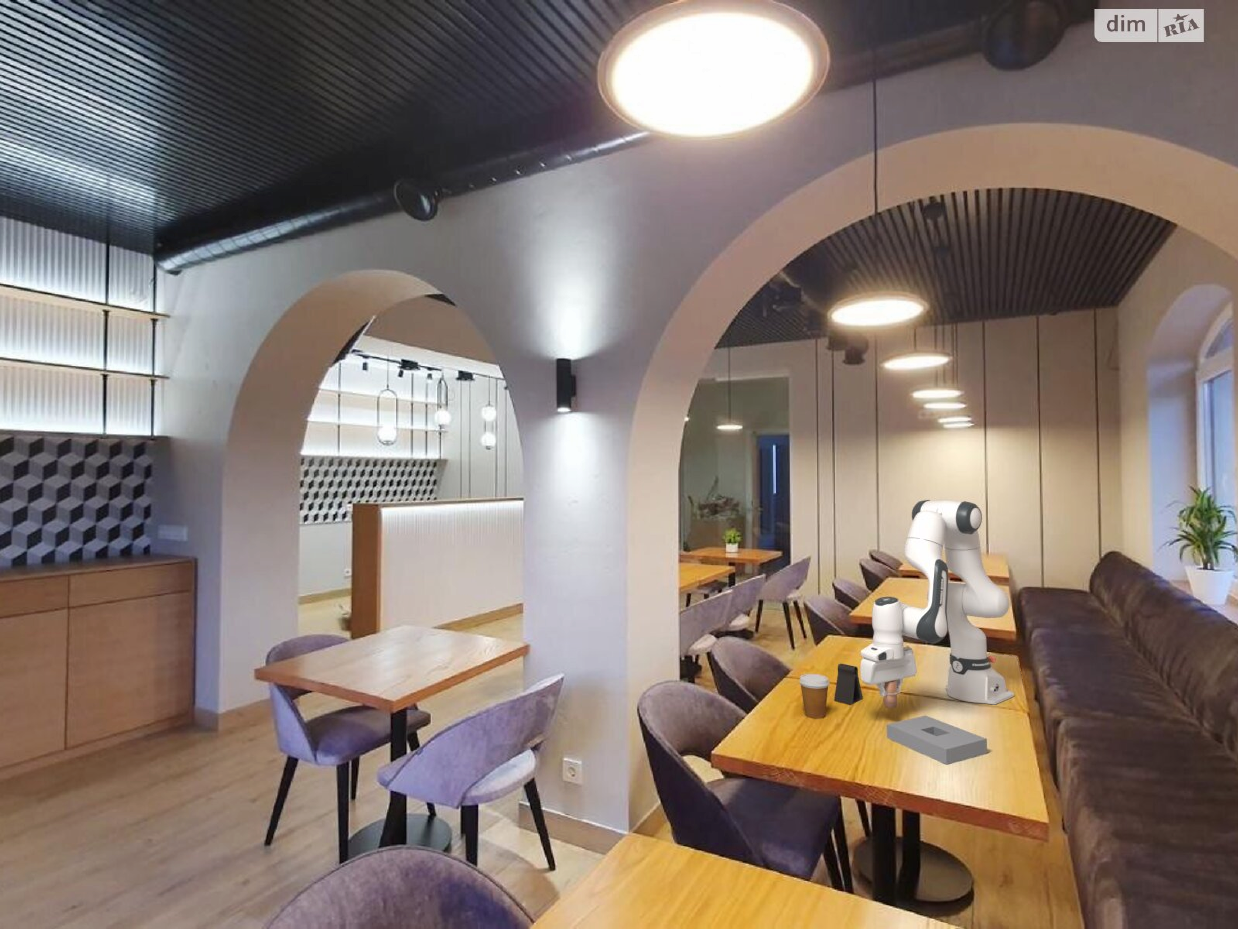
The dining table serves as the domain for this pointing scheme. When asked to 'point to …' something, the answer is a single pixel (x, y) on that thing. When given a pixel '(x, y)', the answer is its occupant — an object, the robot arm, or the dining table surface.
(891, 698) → the terracotta peg
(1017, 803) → the dining table surface
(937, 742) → the gray board
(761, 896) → the dining table surface
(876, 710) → the dining table surface
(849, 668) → the phone stand
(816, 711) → the disposable coffee cup
